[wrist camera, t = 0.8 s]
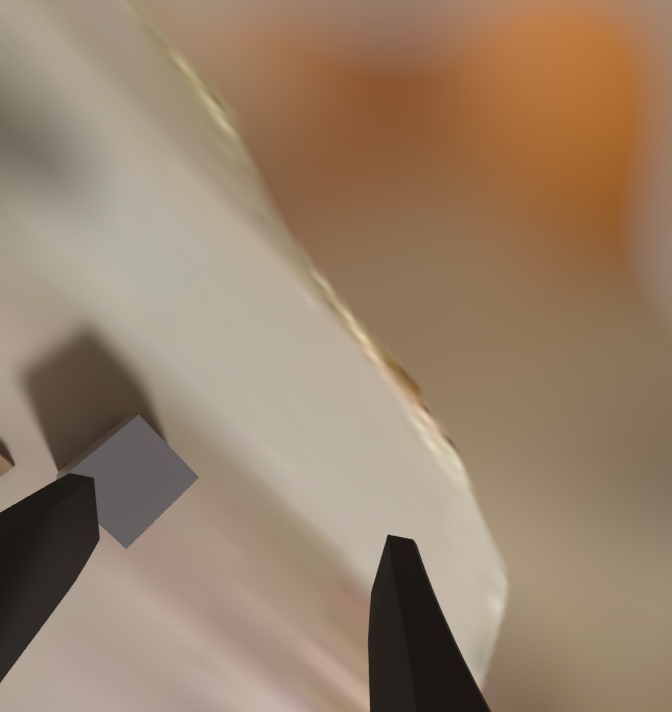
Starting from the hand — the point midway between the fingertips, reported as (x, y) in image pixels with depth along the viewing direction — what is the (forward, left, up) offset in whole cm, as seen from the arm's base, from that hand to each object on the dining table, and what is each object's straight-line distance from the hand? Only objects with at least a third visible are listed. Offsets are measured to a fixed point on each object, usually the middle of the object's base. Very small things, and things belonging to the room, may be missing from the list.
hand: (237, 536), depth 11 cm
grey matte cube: (-1, +1, -15) cm, 16 cm away
